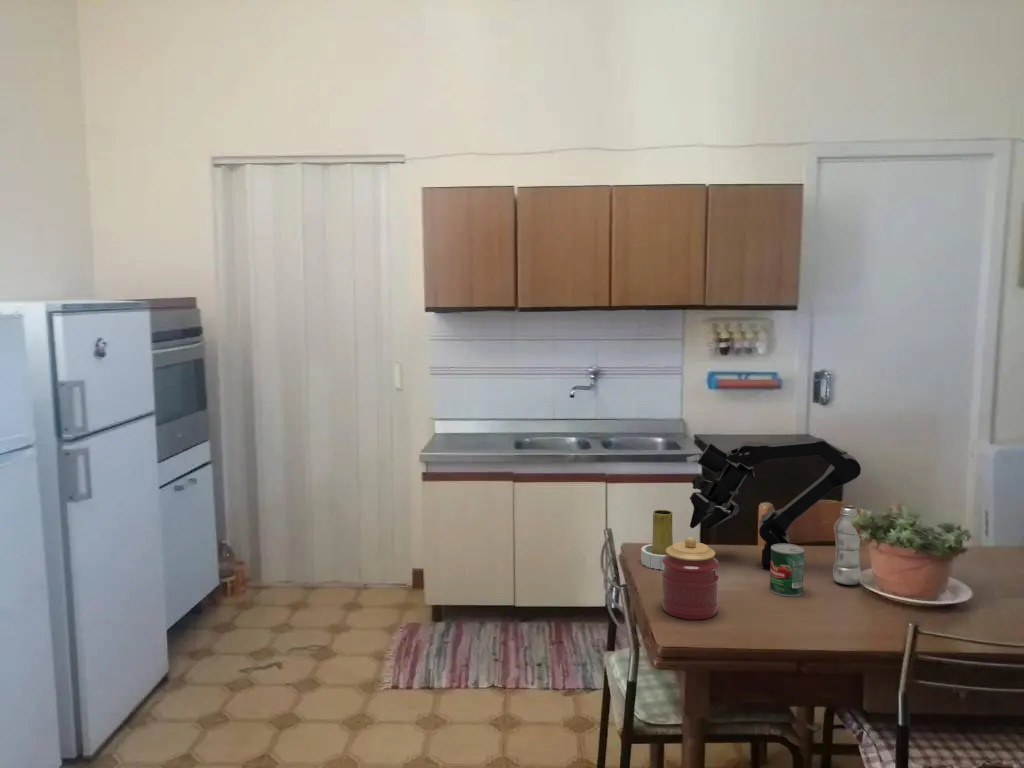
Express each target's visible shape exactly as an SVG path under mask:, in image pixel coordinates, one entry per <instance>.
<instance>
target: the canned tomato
mask: <svg viewBox="0 0 1024 768" xmlns="http://www.w3.org/2000/svg"><path fill="white" fill-rule="evenodd" d="M804 558H805V549H804V547H802V546H801V545H800V546H799V545H797V544H792V543H789V544H774V545H772V546H771V566H770V567H771V568H770V569H769V570H770V572H769V590H770V592H772V593H773V594H776V595H778V596H783V597H798V596H801V595H803V593H804V592H803V589H804V588H803V587H804V561H805V560H804Z"/></svg>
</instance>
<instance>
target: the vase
mask: <svg viewBox="0 0 1024 768" xmlns="http://www.w3.org/2000/svg"><path fill="white" fill-rule="evenodd" d="M673 540H674V539H673V511H671V510H668V509H656V510H654V511H653V512H652V541H651V542H652V543H651V544H652V554H657V555H667V553H666V549H667V548H668V547H670V546H672V545H673V544H674V543H673Z"/></svg>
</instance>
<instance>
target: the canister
mask: <svg viewBox="0 0 1024 768" xmlns="http://www.w3.org/2000/svg"><path fill="white" fill-rule="evenodd" d="M666 553H667V555H666V556H664V557H663V559H662V562H663V564H664V570H662V572H661V576H662V596H661V604H662V609H663V610H664V612H665V613H667V614H668V615H671V616H673V617H676V618H679V619H684V620H692V621H693V620H696V621H697V620H705V619H706V620H707V619H710V618H712V617H714V616H715V615H716V614H717V612H718V608H719V600H718V591H719V590H718V589H719V588H718V587H719V586H718V583H719V582H718V581H719V578H720V577H719V575H718V573H717V568H718V567H719V565H720V563H719V561H718V560H717V559H716V558H715V555H716V551H715V550H714V549H712V548H711V547H709V545H707V544H705V543H701V542H700V541H699V542H698V541H697V540H696V538H695V537H693V536H687V537H686V538H685V539H684V541H677V542H674V543H673V545H672V546H670V547H668V548H667V549H666Z"/></svg>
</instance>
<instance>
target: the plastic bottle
mask: <svg viewBox="0 0 1024 768" xmlns="http://www.w3.org/2000/svg"><path fill="white" fill-rule="evenodd" d="M857 512H858V507H856V506H853V505H842V506H840V512H839V513H840V516H839V518H838V519H837V520H836V522H835V523H834V526H833V530H834V538H835V556H834V557H835V559H834V564H833V569H832V575H833V576H832V577H833V579H834V581H835V582H836V583H838V584H841V585H846V586H847V585H848V586H855V585H857V584H859V583H860V581H861V578H862V572H861V566H860V545H861V539H860V538H859V536H858V533H857V531H856V529H855V528H854V527H853V526H852V523H851V520H852V518H853V517H854V516H856V515H858V513H857ZM856 517H857V516H856Z"/></svg>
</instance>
